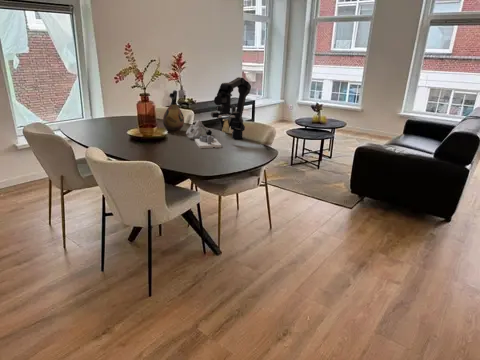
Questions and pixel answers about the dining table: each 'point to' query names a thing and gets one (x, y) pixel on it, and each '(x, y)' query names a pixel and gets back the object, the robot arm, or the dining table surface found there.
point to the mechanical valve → (196, 130)
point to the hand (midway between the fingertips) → (225, 127)
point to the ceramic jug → (173, 116)
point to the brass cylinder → (225, 126)
